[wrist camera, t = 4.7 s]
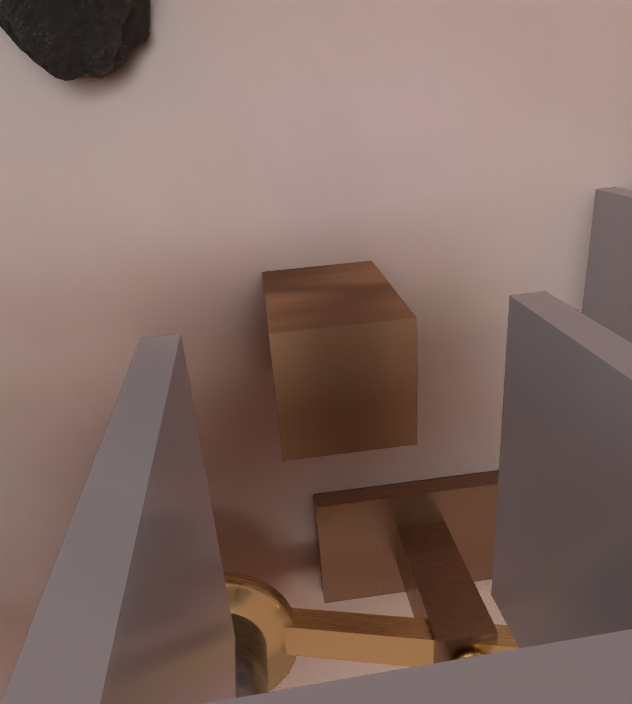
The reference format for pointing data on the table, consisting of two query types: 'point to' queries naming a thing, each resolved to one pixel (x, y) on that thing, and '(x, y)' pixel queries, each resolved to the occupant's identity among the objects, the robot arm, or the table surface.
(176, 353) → the cover
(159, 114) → the table surface
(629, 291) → the cover
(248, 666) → the balance
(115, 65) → the rock
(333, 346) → the block
